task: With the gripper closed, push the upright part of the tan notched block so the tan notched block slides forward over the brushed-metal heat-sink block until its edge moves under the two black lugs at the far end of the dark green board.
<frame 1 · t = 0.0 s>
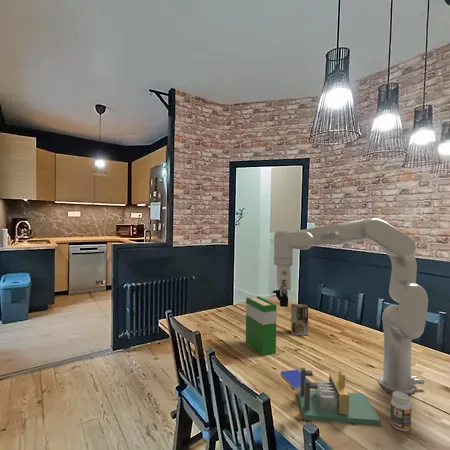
hand: (282, 303, 125), 31 cm above the table, fingers open, 9 cm apart
tan notched block: (338, 386, 106), point 7 cm above the table, slide at 0.0 cm
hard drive: (296, 381, 125), on the table
coffee box: (299, 333, 177), on the table
heatsink: (329, 406, 107), resting on board
pill bottle: (400, 426, 97), on the table
board: (335, 407, 106), on the table
hardback book: (260, 348, 156), on the table
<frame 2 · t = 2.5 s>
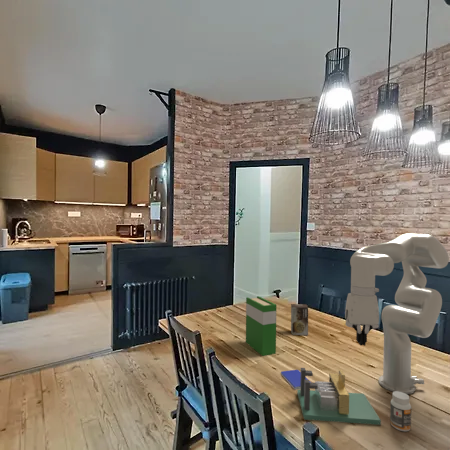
hand: (361, 343, 105), 23 cm above the table, fingers closed
nothing on the table moved.
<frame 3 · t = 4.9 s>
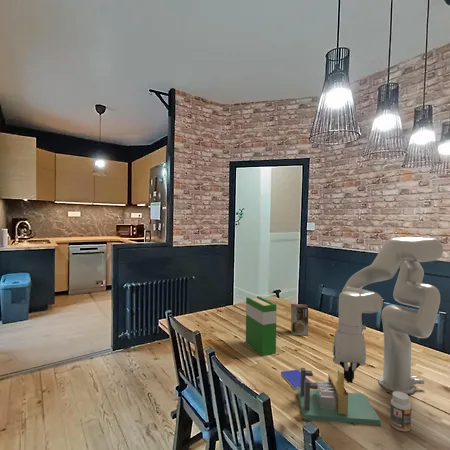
hand: (348, 380, 106), 10 cm above the table, fingers closed
tan notched block: (337, 386, 107), point 7 cm above the table, slide at 0.3 cm, touching gripper
everything else where it was.
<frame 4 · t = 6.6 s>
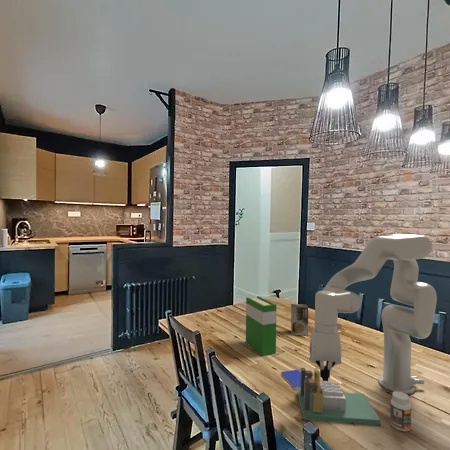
hand: (324, 379, 107), 10 cm above the table, fingers closed
tan notched block: (313, 385, 107), point 7 cm above the table, slide at 8.4 cm, touching gripper
everything else where it was.
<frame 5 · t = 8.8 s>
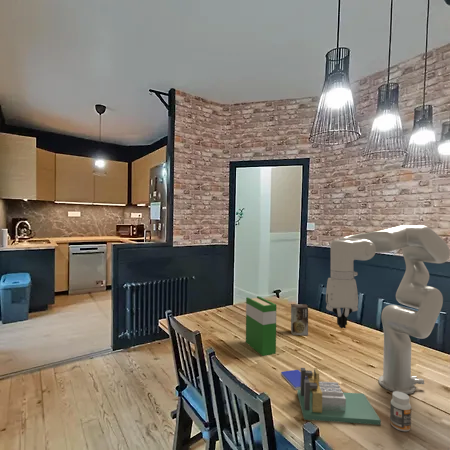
hand: (341, 326, 108), 28 cm above the table, fingers closed
tan notched block: (313, 385, 107), point 7 cm above the table, slide at 8.6 cm
everything else where it was.
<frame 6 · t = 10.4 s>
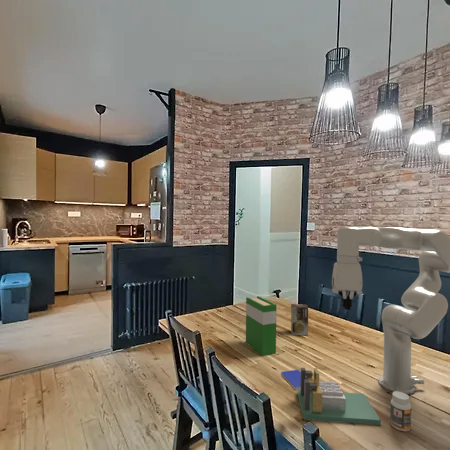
hand: (346, 308, 115), 32 cm above the table, fingers closed
nothing on the table moved.
at the end: tan notched block slide at 8.6 cm; tan notched block 0.4 cm from the target spot, resting on board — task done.
